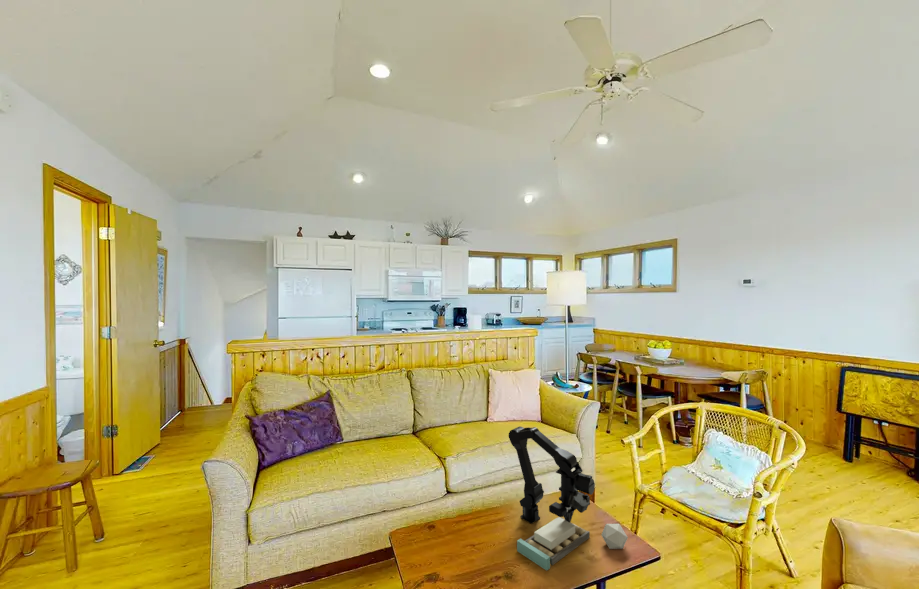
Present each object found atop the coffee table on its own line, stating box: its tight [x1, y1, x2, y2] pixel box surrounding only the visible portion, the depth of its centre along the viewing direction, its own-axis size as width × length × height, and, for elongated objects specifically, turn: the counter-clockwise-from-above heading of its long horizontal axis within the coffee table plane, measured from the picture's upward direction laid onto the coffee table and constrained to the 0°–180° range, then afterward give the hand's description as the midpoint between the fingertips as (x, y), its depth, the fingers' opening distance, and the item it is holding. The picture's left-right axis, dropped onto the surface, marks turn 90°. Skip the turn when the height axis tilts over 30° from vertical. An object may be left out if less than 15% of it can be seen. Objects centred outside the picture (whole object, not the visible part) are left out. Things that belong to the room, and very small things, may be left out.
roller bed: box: [524, 517, 591, 566], centre depth 153 cm, size 13×25×3 cm, turn 130°
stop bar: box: [516, 538, 551, 572], centre depth 143 cm, size 14×2×4 cm, turn 40°
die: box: [600, 523, 629, 550], centre depth 151 cm, size 8×9×10 cm
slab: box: [533, 516, 576, 551], centre depth 152 cm, size 8×16×3 cm, turn 130°
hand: (568, 523), depth 158 cm, fingers closed
